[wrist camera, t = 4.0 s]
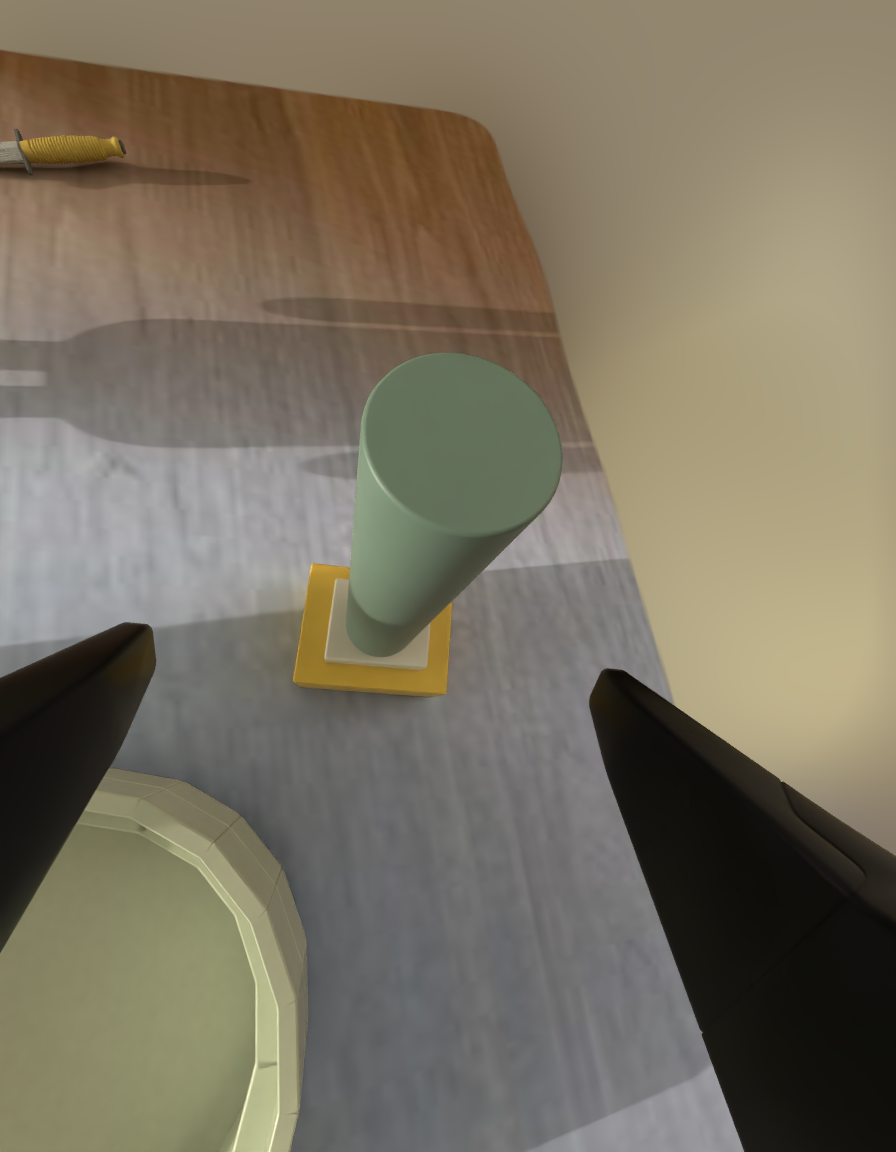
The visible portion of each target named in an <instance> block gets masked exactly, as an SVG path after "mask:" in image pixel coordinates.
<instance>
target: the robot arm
mask: <svg viewBox="0 0 896 1152" xmlns="http://www.w3.org/2000/svg"><path fill="white" fill-rule="evenodd" d="M155 666H156V656H155V647H154V638H153V631H152V628H151V627H150V626H149V625H148V624H140V623H130V622H125V623H122V624H119V625H117V626H115V627H112V628H110V629H108V630H106V631H104V632H101V633H99V634H97V635H95V636H92V637H90V638H88V639H86V640H84V641H81V642H79V643H77V644H75V645H73V646H70V647H68V648H66V649H64V650H61V651H59V652H57V653H55V654H53V655H50V656H48V657H46V658H44V659H41V660H39V661H37V662H35V663H33V664H30V665H28V666H26V667H24V668H22V669H19V670H17V671H15V672H13V673H10V674H8V675H6V676H4V677H2V678H0V953H1V951H2V950H3V948H4V946H5V945H6V943H7V941H8V940H9V938H10V936H11V934H12V933H13V931H14V929H15V928H16V926H17V924H18V922H19V921H20V919H21V917H22V916H23V914H24V912H25V911H26V909H27V907H28V905H29V904H30V902H31V900H32V899H33V897H34V895H35V893H36V892H37V890H38V888H39V887H40V885H41V883H42V882H43V880H44V878H45V876H46V875H47V873H48V871H49V870H50V868H51V866H52V864H53V863H54V861H55V859H56V858H57V856H58V854H59V853H60V851H61V849H62V847H63V846H64V844H65V842H66V841H67V839H68V837H69V835H70V834H71V832H72V830H73V829H74V827H75V825H76V824H77V822H78V820H79V818H80V817H81V815H82V813H83V812H84V810H85V808H86V806H87V805H88V803H89V801H90V800H91V798H92V796H93V795H94V793H95V791H96V789H97V788H98V786H99V784H100V783H101V781H102V779H103V777H104V776H105V774H106V772H107V771H108V769H109V767H110V766H111V764H112V762H113V760H114V759H115V757H116V755H117V753H118V751H119V750H120V748H121V746H122V743H123V741H124V739H125V737H126V735H127V733H128V730H129V728H130V726H131V724H132V721H133V719H134V717H135V714H136V712H137V710H138V708H139V705H140V703H141V701H142V699H143V696H144V694H145V692H146V689H147V687H148V685H149V683H150V680H151V678H152V676H153V673H154V670H155ZM589 706H590V711H591V715H592V719H593V723H594V727H595V731H596V735H597V739H598V743H599V747H600V751H601V754H602V758H603V762H604V766H605V769H606V772H607V775H608V778H609V781H610V784H611V787H612V790H613V792H614V795H615V798H616V801H617V803H618V806H619V809H620V812H621V814H622V817H623V820H624V823H625V825H626V828H627V831H628V834H629V836H630V839H631V842H632V845H633V847H634V850H635V853H636V855H637V858H638V861H639V864H640V866H641V869H642V872H643V875H644V877H645V880H646V883H647V886H648V888H649V891H650V894H651V897H652V899H653V902H654V905H655V908H656V910H657V913H658V916H659V918H660V921H661V924H662V927H663V929H664V932H665V935H666V938H667V940H668V943H669V946H670V949H671V951H672V954H673V957H674V960H675V962H676V965H677V968H678V971H679V973H680V976H681V979H682V981H683V984H684V987H685V990H686V992H687V995H688V998H689V1001H690V1003H691V1006H692V1009H693V1012H694V1014H695V1017H696V1020H697V1023H698V1025H699V1028H700V1030H701V1031H702V1032H703V1033H702V1037H703V1040H704V1043H705V1045H706V1048H707V1051H708V1054H709V1056H710V1059H711V1062H712V1064H713V1067H714V1070H715V1073H716V1075H717V1078H718V1081H719V1084H720V1086H721V1089H722V1092H723V1095H724V1097H725V1100H726V1103H727V1106H728V1108H729V1111H730V1114H731V1116H732V1119H733V1122H734V1125H735V1127H736V1130H737V1133H738V1136H739V1138H740V1141H741V1144H742V1147H743V1149H744V1152H896V856H895V855H893V854H892V853H890V852H889V851H887V850H886V849H884V848H882V847H881V846H879V845H878V844H876V843H874V842H873V841H871V840H870V839H868V838H866V837H865V836H864V835H862V834H860V833H859V832H857V831H856V830H854V829H853V828H851V827H850V826H848V825H847V824H845V823H844V822H842V821H840V820H839V819H837V818H836V817H834V816H833V815H831V814H830V813H828V812H827V811H825V810H824V809H822V808H821V807H820V806H818V805H817V804H815V803H814V802H812V801H811V800H809V799H808V798H806V797H805V796H803V795H802V794H800V793H799V792H798V791H796V790H795V789H793V788H792V787H790V786H789V785H788V784H786V783H785V782H781V781H780V779H779V778H777V777H776V776H774V775H773V774H772V773H770V772H769V771H767V770H766V769H764V768H763V767H762V766H760V765H759V764H757V763H756V762H754V761H753V760H751V759H750V758H749V757H747V756H746V755H744V754H743V753H741V752H740V751H739V750H737V749H736V748H734V747H733V746H731V745H730V744H729V743H727V742H726V741H724V740H723V739H721V738H720V737H718V736H717V735H716V734H714V733H713V732H711V731H710V730H708V729H707V728H706V727H704V726H702V725H701V724H700V723H698V722H697V721H695V720H694V719H692V718H691V717H690V716H688V715H687V714H685V713H684V712H683V711H681V710H680V709H678V708H677V707H675V706H674V705H673V704H671V703H670V702H668V701H667V700H665V699H664V698H662V697H661V696H660V695H658V694H657V693H655V692H654V691H652V690H651V689H650V688H648V687H647V686H645V685H644V684H642V683H641V682H639V681H638V680H637V679H635V678H634V677H632V676H631V675H629V674H628V673H627V672H625V671H623V670H619V669H608V668H607V669H604V670H603V671H602V672H601V673H600V676H599V678H598V680H597V682H596V684H595V687H594V689H593V691H592V693H591V695H590V699H589Z"/></svg>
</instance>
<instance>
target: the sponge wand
mask: <svg viewBox="0 0 896 1152" xmlns="http://www.w3.org/2000/svg"><path fill="white" fill-rule="evenodd" d="M561 471H562V445H561V441H560V436H559V432H558V430H557V427H556V424H555V422H554V420H553V418H552V415H551V413H550V412H549V410H548V409H547V407H546V405H545V404H544V402H543V401H542V400H541V399H540V397H539V396H538V395H537V394H536V392H535V391H534V390H533V389H532V388H531V387H530V386H529V385H528V384H526V383H525V382H524V381H523V380H522V379H520V378H519V377H518V376H516V375H515V374H513V373H512V372H510V371H509V370H507V369H506V368H504V367H502V366H500V365H498V364H496V363H493V362H491V361H488V360H486V359H483V358H480V357H476V356H473V355H467V354H461V353H434V354H428V355H423V356H420V357H417V358H413V359H411V360H409V361H407V362H404V363H402V364H401V365H399V366H397V367H396V368H394V369H393V370H391V371H390V372H389V373H388V374H387V375H386V376H385V377H384V378H383V379H382V380H381V381H380V382H379V383H378V384H377V386H376V387H375V388H374V390H373V391H372V393H371V395H370V396H369V398H368V400H367V403H366V405H365V408H364V411H363V416H362V420H361V431H360V444H359V457H358V470H357V483H356V496H355V510H354V523H353V536H352V549H351V562H350V568H347V567H339V566H332V565H324V564H316V563H313V564H312V565H311V570H310V577H309V583H308V589H307V595H306V601H305V608H304V614H303V620H302V626H301V632H300V639H299V645H298V651H297V657H296V663H295V670H294V676H293V682H294V683H296V684H297V685H299V686H300V687H303V688H316V689H330V690H343V691H356V692H369V693H382V694H395V695H408V696H421V697H432V696H438V695H444V694H446V693H447V679H448V663H449V647H450V631H451V615H452V601H453V600H454V599H455V598H456V597H457V596H458V595H459V594H460V593H461V592H462V591H463V590H464V589H465V588H466V587H467V586H468V585H469V584H470V583H471V582H472V581H473V580H474V579H475V578H476V577H477V576H478V575H479V574H480V573H481V572H482V571H483V570H484V569H485V568H486V567H487V566H488V565H489V564H490V563H491V562H492V561H493V560H494V559H495V558H496V557H497V556H498V555H499V554H500V553H501V552H502V551H503V550H504V549H505V548H506V547H507V546H508V545H509V544H510V543H511V542H512V541H513V540H514V539H515V538H516V537H517V536H518V535H519V534H520V533H521V532H522V531H523V530H524V529H525V528H526V527H527V526H528V525H529V524H530V523H531V522H532V521H533V520H534V519H535V518H536V517H537V516H538V515H539V514H540V513H541V512H542V511H543V510H544V509H545V508H546V506H547V505H548V504H549V503H550V501H551V499H552V497H553V496H554V494H555V492H556V489H557V486H558V484H559V480H560V476H561Z"/></svg>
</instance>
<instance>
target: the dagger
mask: <svg viewBox="0 0 896 1152" xmlns="http://www.w3.org/2000/svg"><path fill="white" fill-rule="evenodd" d="M14 131H15V136H16V141H10V142H0V164H23V163H24V164H25V167H26V169H27V171H28V173H29V174H30V175H33V172H32V167H31V163H39V162H41V163H48V164H50V163H51V164H53V163H54V164H56V163H57V164H59V163H61V164H62V163H64V164H65V163H67V164H68V163H80V162H82V163H83V162H86V161H87V162H89V161H90V162H92V161H93V162H94V161H98V160H99V161H100V160H103V159H104V160H106V158H108V157H109V156H119V157H121V158H124V154H126V150H125V148H124V145H123V143H122V141H121V140H118V138H117V137H113V138H112V139H100V138H98V137H96V136H95V137H94V136H92V137H91V136H89V137H88V136H70V137H69V136H67V137H66V136H64V137H63V136H61V137H59V136H58V137H56V136H55V137H48V138H47V137H45V138H44V137H43V138H39V139H38V138H36V139H30V141H29V140H24V141H23V139H22V136H21V134H20V132H19V130H18V129H14Z"/></svg>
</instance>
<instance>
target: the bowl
mask: <svg viewBox="0 0 896 1152" xmlns="http://www.w3.org/2000/svg"><path fill="white" fill-rule="evenodd" d="M305 938H306V935H305V932H304V929H303V926H302V923H301V920H300V917H299V914H298V911H297V908H296V905H295V902H294V899H293V896H292V893H291V890H290V887H289V884H288V881H287V878H286V875H285V872H284V870H283V869H282V867H281V865H280V864H279V862H278V861H277V860H276V859H275V857H274V856H273V855H272V854H271V852H270V851H269V850H268V849H267V847H266V846H265V845H264V844H263V842H262V841H261V840H260V839H259V837H258V836H257V835H256V834H255V832H254V831H253V830H252V828H251V827H250V826H249V825H248V823H247V822H246V821H245V820H244V818H243V817H241V816H240V814H239V813H237V812H236V811H234V810H232V809H230V808H229V807H227V806H225V805H224V804H222V803H220V802H219V801H217V800H215V799H213V798H212V797H210V796H208V795H207V794H205V793H203V792H202V791H200V790H198V789H196V788H195V787H193V786H191V785H190V784H188V783H186V782H184V781H182V782H181V781H180V780H176V779H171V778H165V777H160V776H154V775H149V774H143V773H138V772H132V771H127V770H121V769H116V768H112V769H110V768H109V769H108V771H107V772H106V774H105V776H104V777H103V779H102V781H101V783H100V784H99V786H98V788H97V789H96V791H95V793H94V795H93V796H92V798H91V800H90V801H89V803H88V805H87V806H86V808H85V810H84V812H83V813H82V815H81V817H80V818H79V820H78V822H77V824H76V825H75V827H74V829H73V830H72V832H71V834H70V835H69V837H68V839H67V841H66V842H65V844H64V846H63V847H62V849H61V851H60V853H59V854H58V856H57V858H56V859H55V861H54V863H53V864H52V866H51V868H50V870H49V871H48V873H47V875H46V876H45V878H44V880H43V882H42V883H41V885H40V887H39V888H38V890H37V892H36V893H35V895H34V897H33V899H32V900H31V902H30V904H29V905H28V907H27V909H26V911H25V912H24V914H23V916H22V917H21V919H20V921H19V922H18V924H17V926H16V928H15V929H14V931H13V933H12V934H11V936H10V938H9V940H8V941H7V943H6V945H5V946H4V948H3V950H2V951H1V953H0V1152H290V1151H291V1146H292V1142H293V1138H294V1134H295V1129H296V1125H297V1121H298V1116H299V1110H300V1100H301V1090H302V1080H303V1070H304V1060H305V1049H306V1039H307V1029H308V977H307V941H306V939H305Z"/></svg>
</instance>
